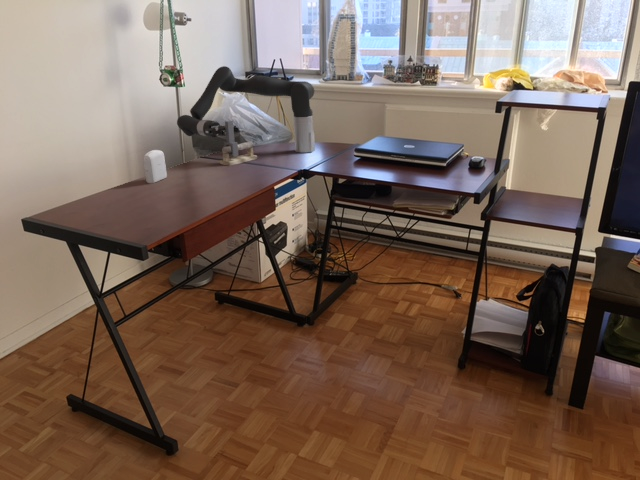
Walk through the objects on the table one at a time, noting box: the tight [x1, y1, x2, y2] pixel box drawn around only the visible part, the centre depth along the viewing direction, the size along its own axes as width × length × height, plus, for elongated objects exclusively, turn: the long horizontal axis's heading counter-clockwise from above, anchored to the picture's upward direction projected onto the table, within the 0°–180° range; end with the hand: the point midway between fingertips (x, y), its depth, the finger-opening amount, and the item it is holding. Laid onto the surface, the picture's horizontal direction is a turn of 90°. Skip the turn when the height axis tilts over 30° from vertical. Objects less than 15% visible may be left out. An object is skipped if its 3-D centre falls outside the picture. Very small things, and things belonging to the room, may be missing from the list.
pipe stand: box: [219, 141, 258, 166], centre depth 252 cm, size 17×7×8 cm, turn 140°
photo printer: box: [142, 149, 168, 184], centre depth 222 cm, size 10×4×12 cm, turn 160°
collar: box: [223, 120, 240, 157], centre depth 247 cm, size 3×6×16 cm, turn 50°
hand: (231, 131), depth 245 cm, fingers open, 8 cm apart
